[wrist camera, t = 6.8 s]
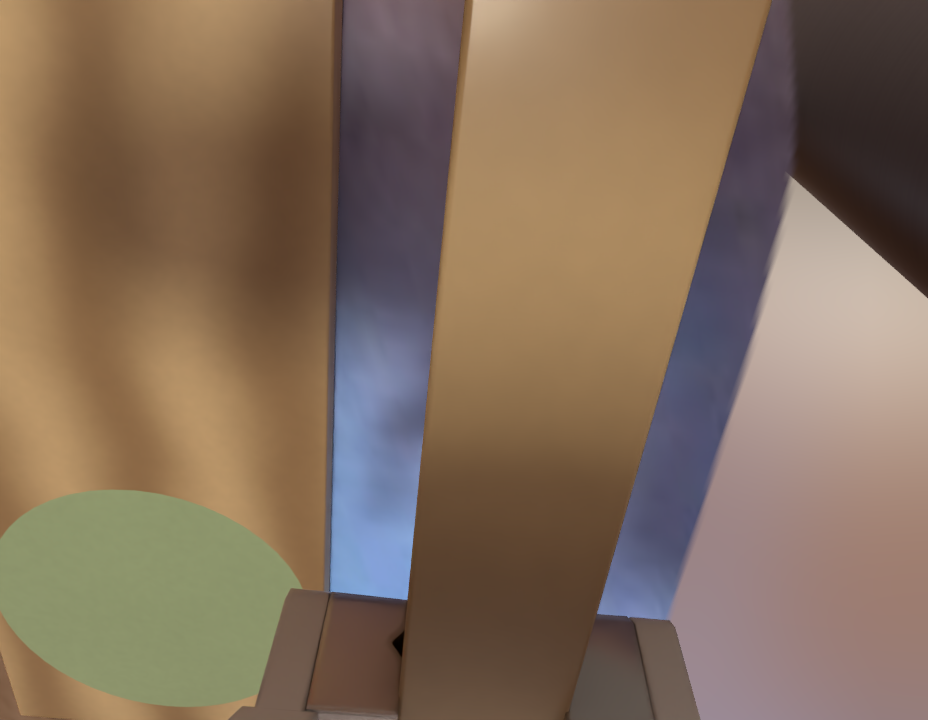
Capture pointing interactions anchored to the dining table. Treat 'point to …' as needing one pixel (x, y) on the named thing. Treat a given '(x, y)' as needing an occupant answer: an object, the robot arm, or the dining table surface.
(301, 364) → the board
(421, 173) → the dining table surface
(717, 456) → the dining table surface
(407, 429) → the dining table surface
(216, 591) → the plate
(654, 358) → the tan wooden bar
